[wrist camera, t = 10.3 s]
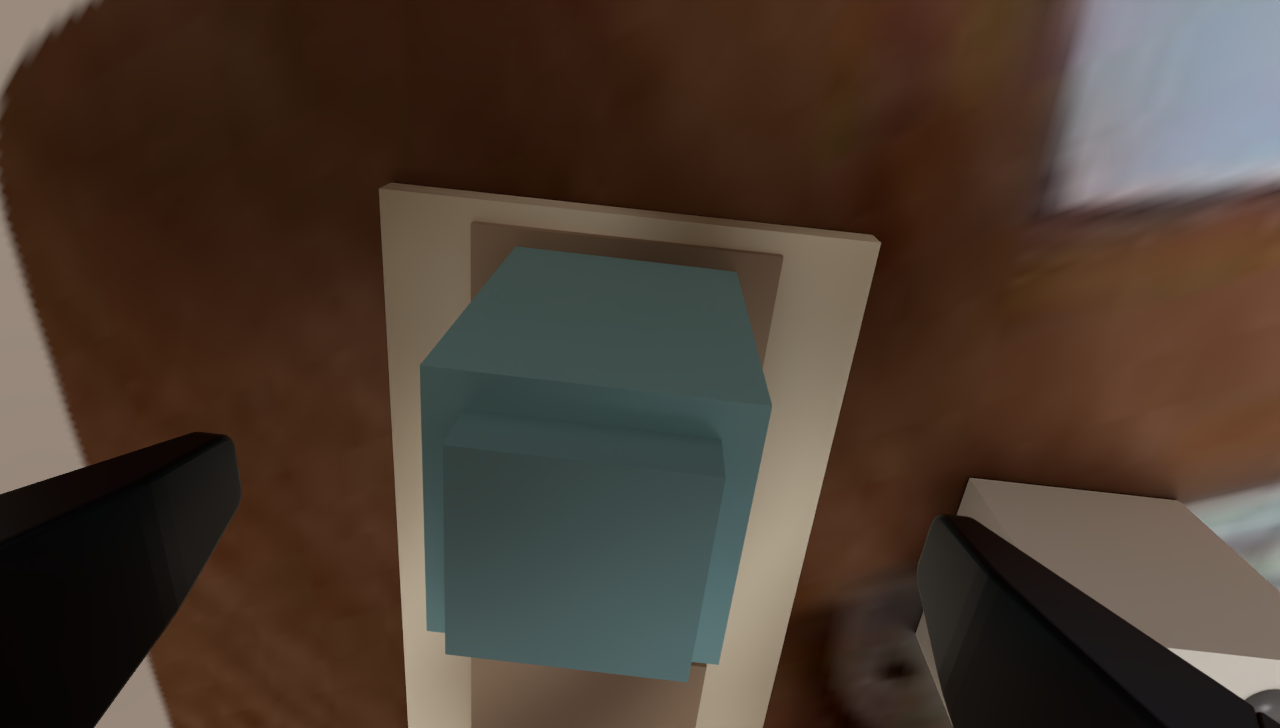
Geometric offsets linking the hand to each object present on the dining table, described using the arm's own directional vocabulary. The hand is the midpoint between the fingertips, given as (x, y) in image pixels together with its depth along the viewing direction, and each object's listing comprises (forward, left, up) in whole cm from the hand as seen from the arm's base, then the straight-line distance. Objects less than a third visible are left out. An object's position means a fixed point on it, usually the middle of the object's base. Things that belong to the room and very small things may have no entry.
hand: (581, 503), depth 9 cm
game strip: (0, +8, -6) cm, 10 cm away
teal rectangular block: (0, 0, -5) cm, 5 cm away
